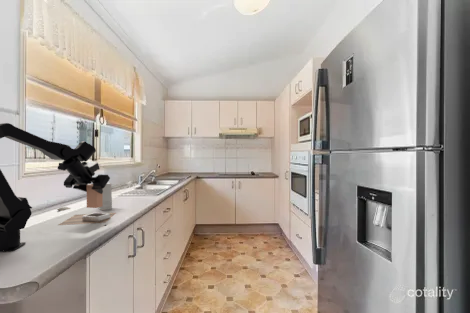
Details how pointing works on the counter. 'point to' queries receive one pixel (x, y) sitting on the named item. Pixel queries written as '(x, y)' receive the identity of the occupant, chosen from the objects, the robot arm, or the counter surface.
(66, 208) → the soupspoon
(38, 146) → the robot arm
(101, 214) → the steel collar
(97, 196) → the terracotta upright block
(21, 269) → the counter surface
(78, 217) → the walnut board
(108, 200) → the skincare box
